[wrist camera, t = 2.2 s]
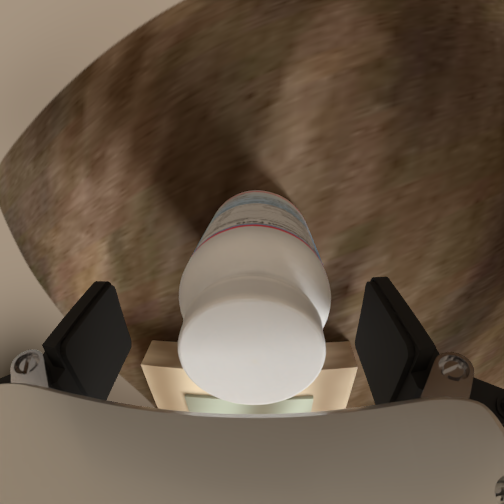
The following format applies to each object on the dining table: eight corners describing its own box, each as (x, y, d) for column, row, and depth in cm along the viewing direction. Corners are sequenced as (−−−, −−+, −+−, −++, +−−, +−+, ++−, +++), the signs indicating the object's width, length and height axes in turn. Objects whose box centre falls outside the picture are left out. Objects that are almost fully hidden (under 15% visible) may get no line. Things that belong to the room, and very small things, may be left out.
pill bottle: (277, 290, 20) (285, 432, 10) (196, 252, 20) (135, 378, 9) (324, 215, 18) (390, 326, 8) (236, 170, 17) (193, 233, 7)
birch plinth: (349, 341, 22) (358, 369, 19) (323, 440, 28) (326, 463, 25) (152, 340, 23) (139, 367, 20) (186, 438, 29) (181, 460, 26)
